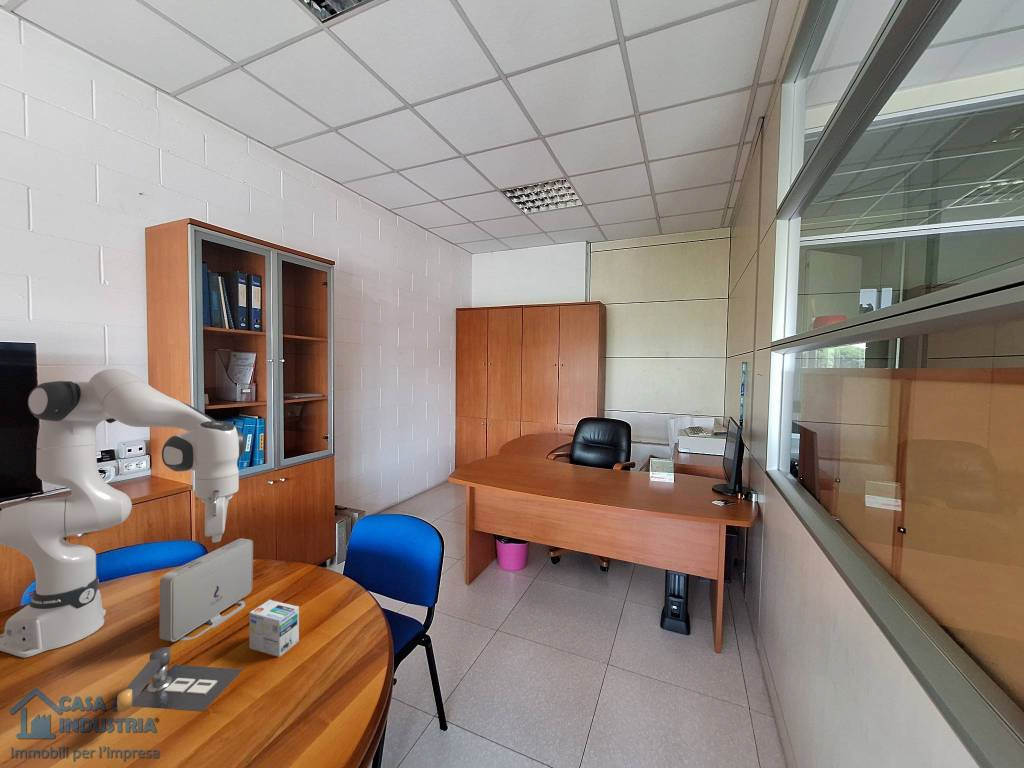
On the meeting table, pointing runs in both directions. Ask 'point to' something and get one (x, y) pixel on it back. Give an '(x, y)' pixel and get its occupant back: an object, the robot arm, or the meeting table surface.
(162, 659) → the dark grey lever handle
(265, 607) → the light bulb box
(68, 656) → the meeting table surface
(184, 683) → the psu label
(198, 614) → the network device
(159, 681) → the pivot post
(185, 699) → the dark grey flat plate
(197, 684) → the white flat rectangle
